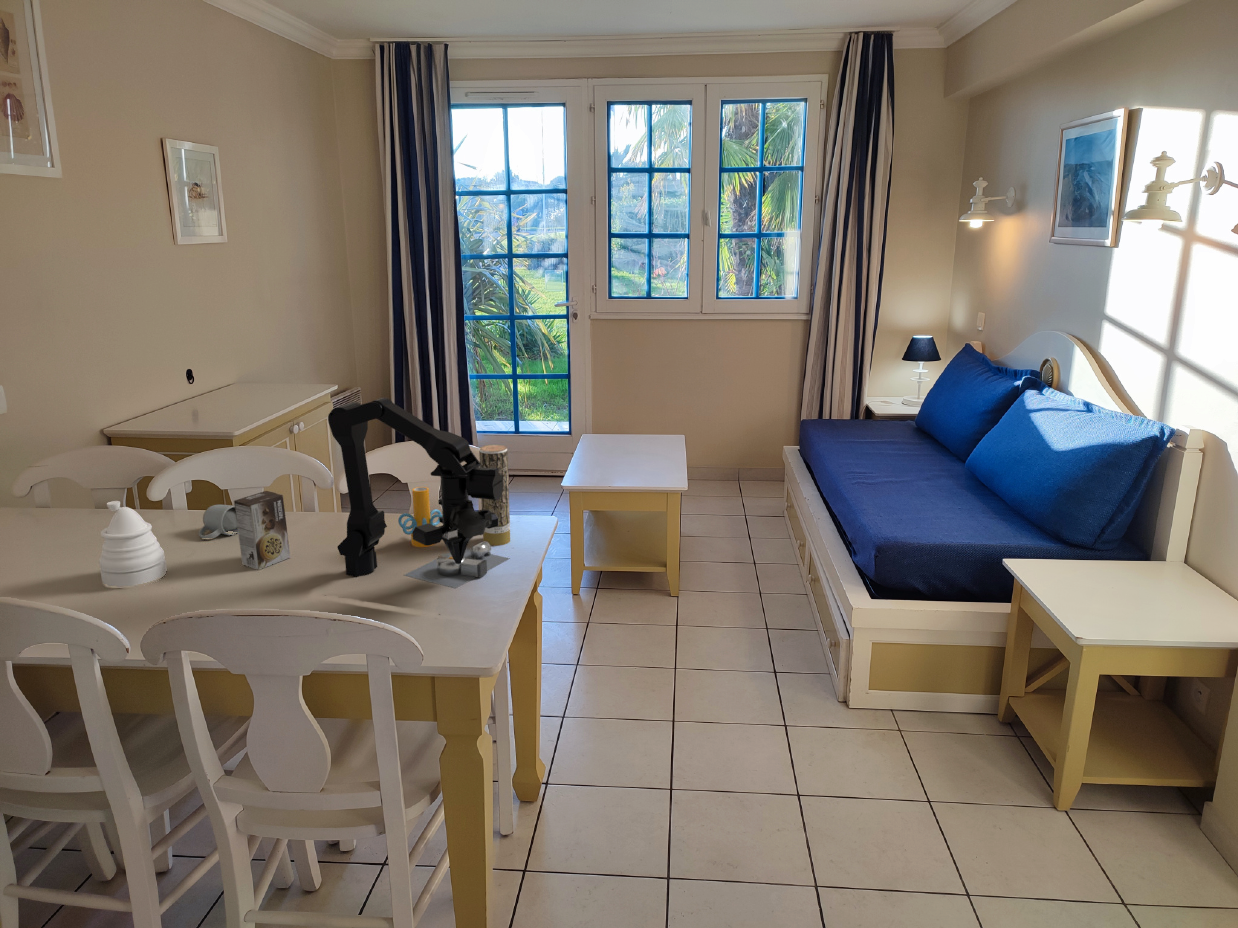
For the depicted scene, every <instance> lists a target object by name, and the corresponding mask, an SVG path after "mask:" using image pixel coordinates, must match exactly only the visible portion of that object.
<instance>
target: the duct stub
mask: <svg viewBox="0 0 1238 928" xmlns="http://www.w3.org/2000/svg"><path fill="white" fill-rule="evenodd" d="M491 550H492V546H490V544H489V543H488V542H486V541H482V542H479V543H477V544H475V545H473V546H472V547H470V552H471V557H474V558H478V559H482V560H483V559H485V556H490V555H491V554H492V553H491ZM484 555H485V556H484Z"/></svg>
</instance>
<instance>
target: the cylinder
mask: <svg viewBox="0 0 1238 928" xmlns="http://www.w3.org/2000/svg"><path fill="white" fill-rule="evenodd" d="M411 493H412V506H413V508H412V509H413V515H412V514H410V513H407V512H404V513H402V514H400V516H399V517H398V521H397V522H398V525H399V527H400V528H402V531H403V533H404V534H405V535H410V539H411V540H410V542H411V546H413V547H416V548H427V547H428V548H429V547H431V546H433V545H435V544H433V545H430V546H426V545H424V544H421V543H419V542H417V541H415V540H413V533H412V532H413V530H414V528H415V527H417V526H421V525H425V524H431V525H434V526H436V527H437V526H438V525H439V524H440V523H441V522H440V519H439V518H440V517H443V515H442V512H441V511H440V510H439V509H437V508H435V509H432V510H431V503H430V500H431V499H430V488H429V487H427V486H417V487H413V488H412V489H411ZM435 513H436V514H435ZM405 517H407V518H406V519H405V520H404V521H403V522H402V520H403V518H405ZM436 518H438V519H437V520H436V522H434V519H436ZM409 522H411V525H409V526H407V524H408V523H409ZM409 530H410V531H409Z"/></svg>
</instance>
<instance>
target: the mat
mask: <svg viewBox="0 0 1238 928" xmlns="http://www.w3.org/2000/svg"><path fill="white" fill-rule="evenodd" d="M470 550H471V548H470V549H469V548H466V550H465V553H464V556H465V560H466V559H473V560H480V561H483V560H487V572H489V571H490V570H492V569H494V568H496V567H498V566H500V565H501V564H503V563H505V562H507V561H508V560H510V559H511V558H509V557H504V556H502V555H501V556H500V555H497V554H492V553H491V555H490V556H485V555H484V556H485V559H483V560H482V559H478V558H474V557H471V552H470ZM404 576H405V577H410V578H413V579H417V580H421V581H424V582H428V583H433V584H436V585H440V586H441V585H442V586H444V587H449V588H453V589H458V588H459V587H461V586H463V585H464V584H466V583H468V582H470V581H472V580H474V579H476V578H477V577H474V576H467V575H461V574H459V575H455V576H443V575H440V574H438V573H437V560H436V559H433V560H432V561H430V562H428V563H425V564H423V565H421V566H419V567H417V568H415V569H413V570H411V571H410V572H407V573H405V574H404Z"/></svg>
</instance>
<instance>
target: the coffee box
mask: <svg viewBox="0 0 1238 928" xmlns="http://www.w3.org/2000/svg"><path fill="white" fill-rule="evenodd" d="M233 504H234V506H235V512H236V519H237V527H238V534H237V535H238V540H239V548H240V555H241V564H243V566H244V565H246V566H245V567H248V566H249V567H248V568H251V569H254V570H257V569H260V570H262V568H263V569H265V568H268V567H271V566H273V565H275V564H278V563H280V562H282V561H285V560H288V559H290V558H291V552H290V544H289V542H290V541H289V533H288V527H287V525H288V524H287V519H286V511H285V510H286V509H285V503H284V496H283V494H279V493H276V492H274V491H270V490H265V491H261V492H258V493H255V494H252V495H249V496H248V495H247V496H245V497H242V498H239V499H235V500H234V501H233ZM272 564H273V565H272ZM267 566H268V567H267Z"/></svg>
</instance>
